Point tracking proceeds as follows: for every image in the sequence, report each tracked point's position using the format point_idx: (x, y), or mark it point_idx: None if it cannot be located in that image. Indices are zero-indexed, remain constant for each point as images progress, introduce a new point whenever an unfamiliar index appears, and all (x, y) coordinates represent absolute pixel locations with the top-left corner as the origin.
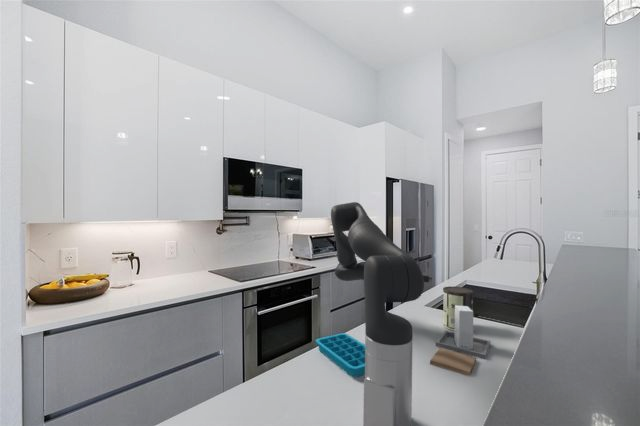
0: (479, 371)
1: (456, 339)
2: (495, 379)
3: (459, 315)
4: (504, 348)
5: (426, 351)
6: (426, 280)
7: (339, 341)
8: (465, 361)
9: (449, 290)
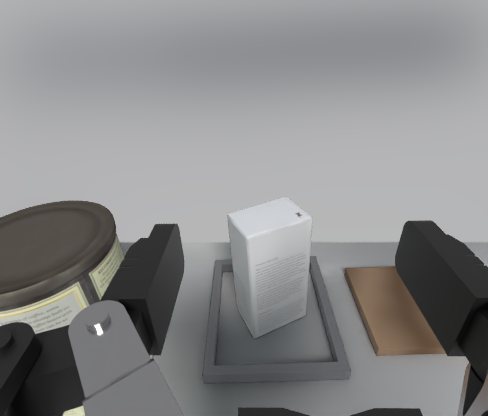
0: (387, 263)
1: (282, 315)
2: (390, 242)
3: (311, 232)
4: (219, 248)
5: (425, 392)
6: (177, 269)
7: None
8: (391, 279)
9: (55, 263)
